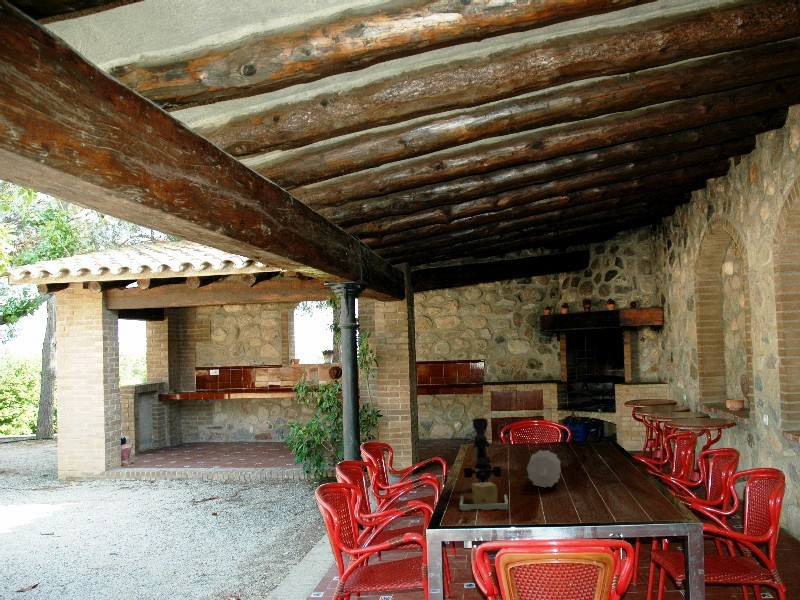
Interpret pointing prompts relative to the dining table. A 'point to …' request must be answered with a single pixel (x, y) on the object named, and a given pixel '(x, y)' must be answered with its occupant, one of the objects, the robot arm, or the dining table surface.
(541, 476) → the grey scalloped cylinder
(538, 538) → the dining table surface
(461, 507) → the grey u-shaped frame
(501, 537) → the dining table surface
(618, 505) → the dining table surface
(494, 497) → the cheese
